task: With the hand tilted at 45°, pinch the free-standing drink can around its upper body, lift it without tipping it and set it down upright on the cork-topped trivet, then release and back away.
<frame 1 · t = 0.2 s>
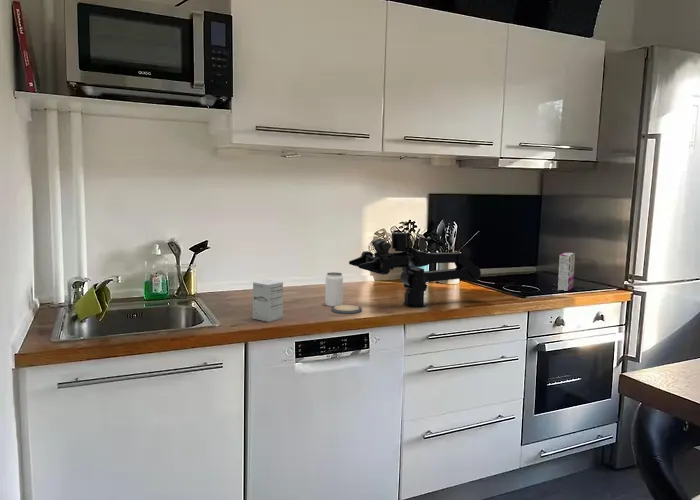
hand: (353, 264, 205), 17 cm above the worktop, tool horizontal, fingers open, 9 cm apart
can: (333, 305, 215), on the worktop
candy bar box: (565, 290, 255), on the worktop
trivet: (346, 310, 206), on the worktop
supplement box: (267, 319, 191), on the worktop
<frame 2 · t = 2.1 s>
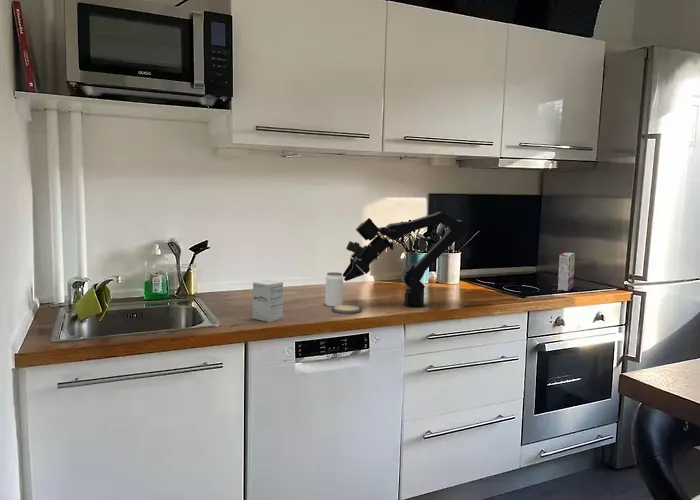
hand: (343, 278, 214), 10 cm above the worktop, tool tilted 45°, fingers open, 9 cm apart
nothing on the worktop moved.
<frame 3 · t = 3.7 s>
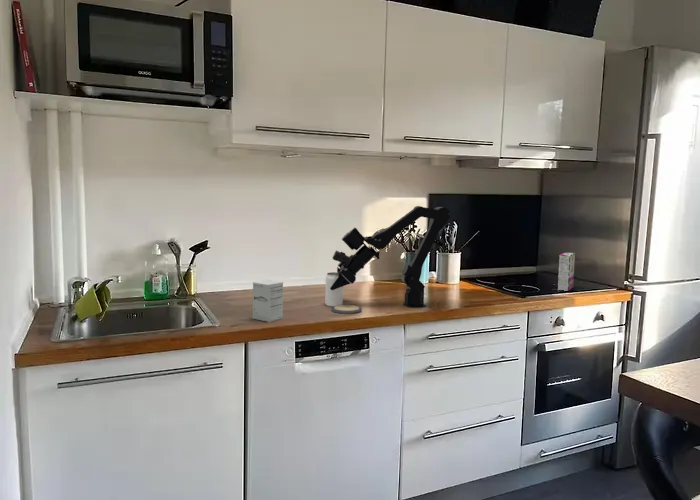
hand: (330, 287, 214), 7 cm above the worktop, tool tilted 45°, fingers closed on can, 6 cm apart
can: (333, 305, 215), on the worktop, touching gripper
everything else where it was.
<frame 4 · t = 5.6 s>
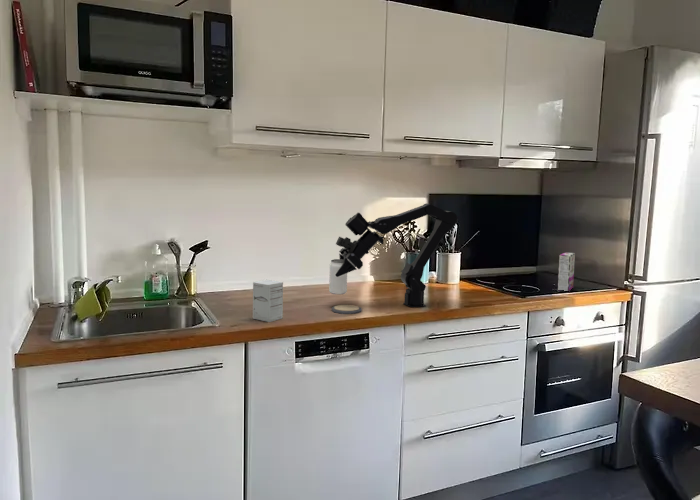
hand: (334, 274, 210), 12 cm above the worktop, tool tilted 45°, fingers closed on can, 6 cm apart
can: (337, 292, 211), point 5 cm above the worktop, touching gripper
everything else where it was.
when the fingers open (8 cm above the worktop, at t = 7.7 s): can stays where it is, resting on trivet.
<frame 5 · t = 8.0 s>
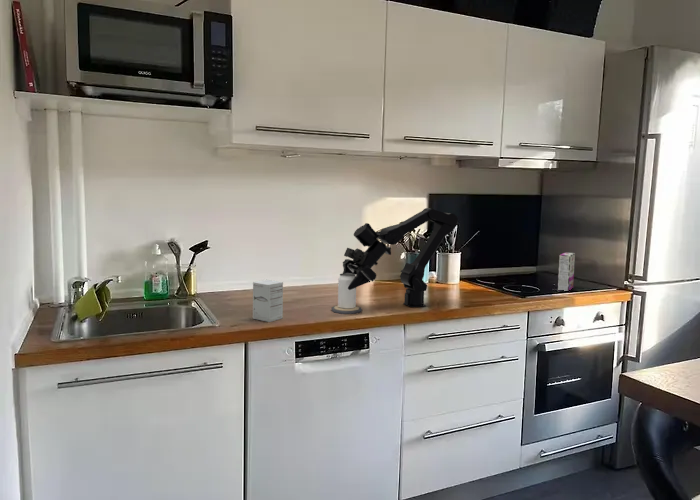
hand: (343, 286, 204), 9 cm above the worktop, tool tilted 45°, fingers open, 9 cm apart
can: (346, 307, 206), point 1 cm above the worktop, touching trivet
everything else where it was.
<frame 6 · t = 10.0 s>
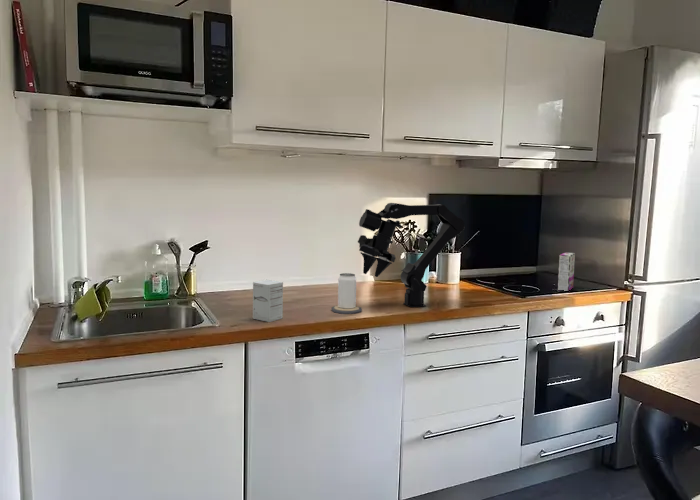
hand: (370, 275, 211), 12 cm above the worktop, tool tilted 20°, fingers open, 9 cm apart
nothing on the worktop moved.
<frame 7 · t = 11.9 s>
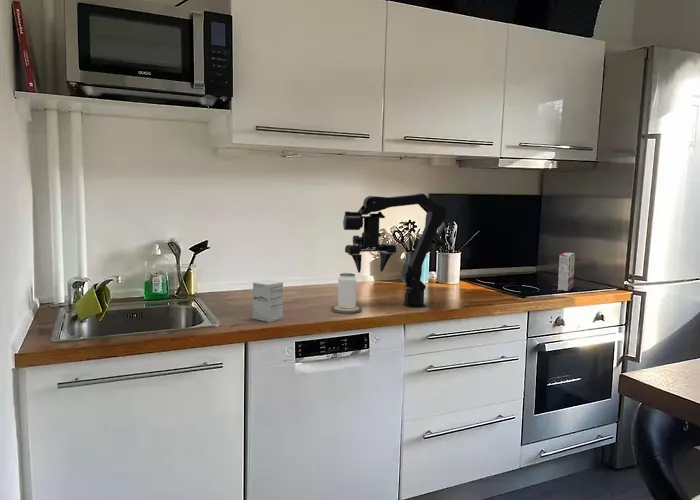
hand: (370, 271, 212), 13 cm above the worktop, tool pointing down, fingers open, 9 cm apart
nothing on the worktop moved.
at the end: can 0.5 cm from the trivet (horizontally); can tilted 0°; the gripper is holding nothing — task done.
